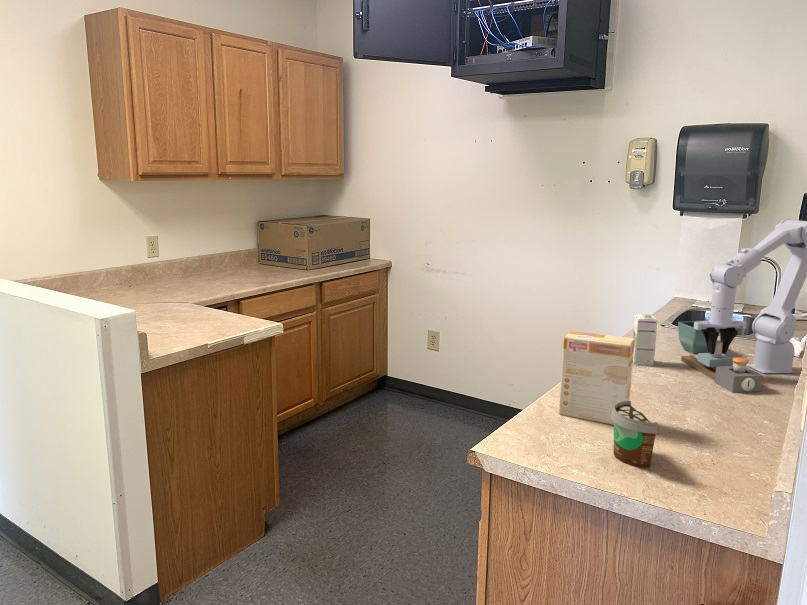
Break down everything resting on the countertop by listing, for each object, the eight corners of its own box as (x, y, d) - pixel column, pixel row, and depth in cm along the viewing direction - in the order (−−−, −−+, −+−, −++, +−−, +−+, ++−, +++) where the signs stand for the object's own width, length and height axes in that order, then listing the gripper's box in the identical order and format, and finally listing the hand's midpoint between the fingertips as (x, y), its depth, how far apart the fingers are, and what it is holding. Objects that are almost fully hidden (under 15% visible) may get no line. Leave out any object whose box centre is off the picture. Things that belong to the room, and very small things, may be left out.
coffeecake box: (628, 416, 143) (636, 338, 139) (623, 427, 137) (631, 345, 133) (565, 404, 150) (570, 329, 146) (558, 414, 144) (563, 336, 140)
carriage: (719, 359, 177) (722, 338, 175) (732, 366, 171) (735, 344, 170) (697, 360, 176) (699, 338, 175) (709, 367, 170) (711, 344, 169)
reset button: (741, 369, 165) (742, 357, 164) (750, 374, 161) (751, 361, 160) (727, 370, 164) (729, 357, 164) (736, 374, 161) (738, 361, 160)
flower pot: (716, 354, 192) (720, 327, 190) (692, 356, 190) (696, 328, 188) (697, 346, 200) (700, 320, 199) (674, 348, 199) (677, 321, 197)
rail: (699, 360, 186) (700, 352, 186) (735, 380, 169) (737, 371, 168) (680, 360, 186) (681, 352, 185) (715, 380, 168) (716, 372, 168)
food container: (597, 444, 129) (601, 400, 127) (625, 443, 129) (629, 399, 127) (623, 472, 117) (627, 424, 115) (653, 471, 118) (658, 423, 115)
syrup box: (654, 366, 180) (658, 319, 177) (633, 364, 181) (637, 318, 178) (650, 360, 186) (655, 314, 183) (630, 359, 187) (634, 313, 184)
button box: (741, 381, 168) (743, 365, 167) (761, 392, 160) (764, 376, 159) (714, 381, 167) (716, 366, 166) (733, 392, 159) (735, 376, 158)
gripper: (737, 303, 174) (732, 348, 177) (690, 304, 173) (684, 349, 176) (753, 309, 167) (747, 355, 170) (704, 309, 166) (698, 356, 169)
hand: (716, 353), depth 172 cm, fingers closed on carriage, 3 cm apart
